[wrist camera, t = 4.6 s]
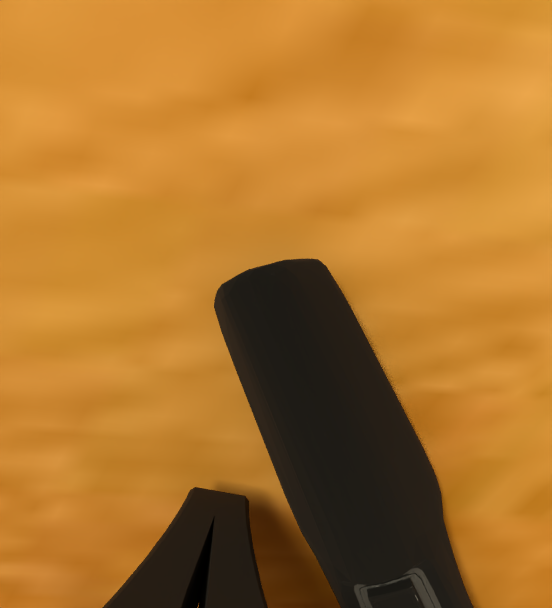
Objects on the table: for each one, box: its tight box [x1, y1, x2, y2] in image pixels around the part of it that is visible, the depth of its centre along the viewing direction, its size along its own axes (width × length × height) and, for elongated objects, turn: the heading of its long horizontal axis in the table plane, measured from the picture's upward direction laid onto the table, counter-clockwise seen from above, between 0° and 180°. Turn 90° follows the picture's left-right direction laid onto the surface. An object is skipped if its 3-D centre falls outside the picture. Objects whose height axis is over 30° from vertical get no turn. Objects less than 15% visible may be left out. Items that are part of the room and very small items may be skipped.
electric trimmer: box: [214, 259, 473, 608], centre depth 11 cm, size 4×16×3 cm, turn 22°
